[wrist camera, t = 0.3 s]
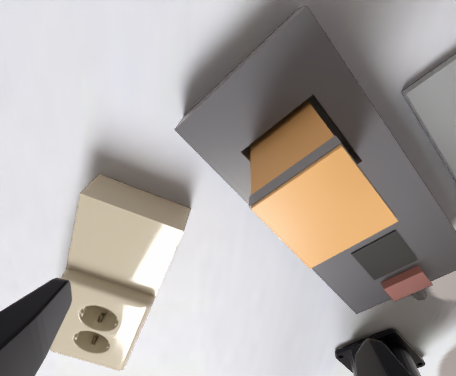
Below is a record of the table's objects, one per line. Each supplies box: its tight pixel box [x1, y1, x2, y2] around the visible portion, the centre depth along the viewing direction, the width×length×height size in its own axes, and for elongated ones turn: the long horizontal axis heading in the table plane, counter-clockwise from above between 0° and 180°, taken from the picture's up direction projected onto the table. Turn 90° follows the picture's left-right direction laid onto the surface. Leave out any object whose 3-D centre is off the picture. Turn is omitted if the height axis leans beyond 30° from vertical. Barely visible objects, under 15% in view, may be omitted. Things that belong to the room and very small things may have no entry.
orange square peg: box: [249, 100, 398, 269], centre depth 15 cm, size 4×4×8 cm
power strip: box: [175, 6, 456, 314], centre depth 20 cm, size 24×9×3 cm, turn 42°
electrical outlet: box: [50, 174, 191, 371], centre depth 25 cm, size 7×4×18 cm
